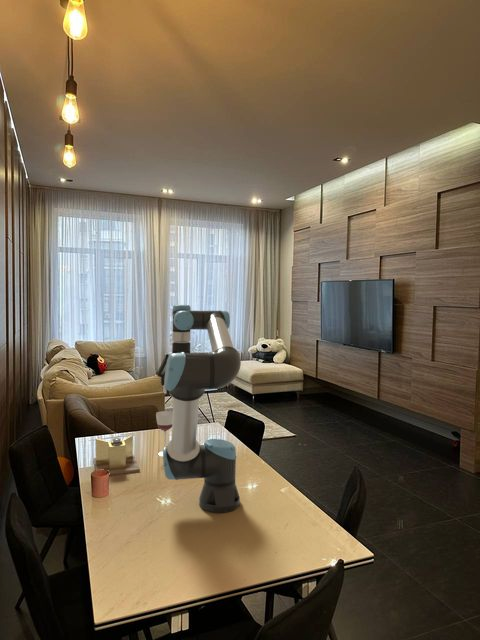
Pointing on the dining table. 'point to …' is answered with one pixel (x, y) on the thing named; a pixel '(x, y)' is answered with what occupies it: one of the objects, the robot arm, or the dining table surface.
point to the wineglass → (164, 423)
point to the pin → (116, 441)
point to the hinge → (114, 452)
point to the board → (130, 467)
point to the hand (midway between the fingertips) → (180, 392)
